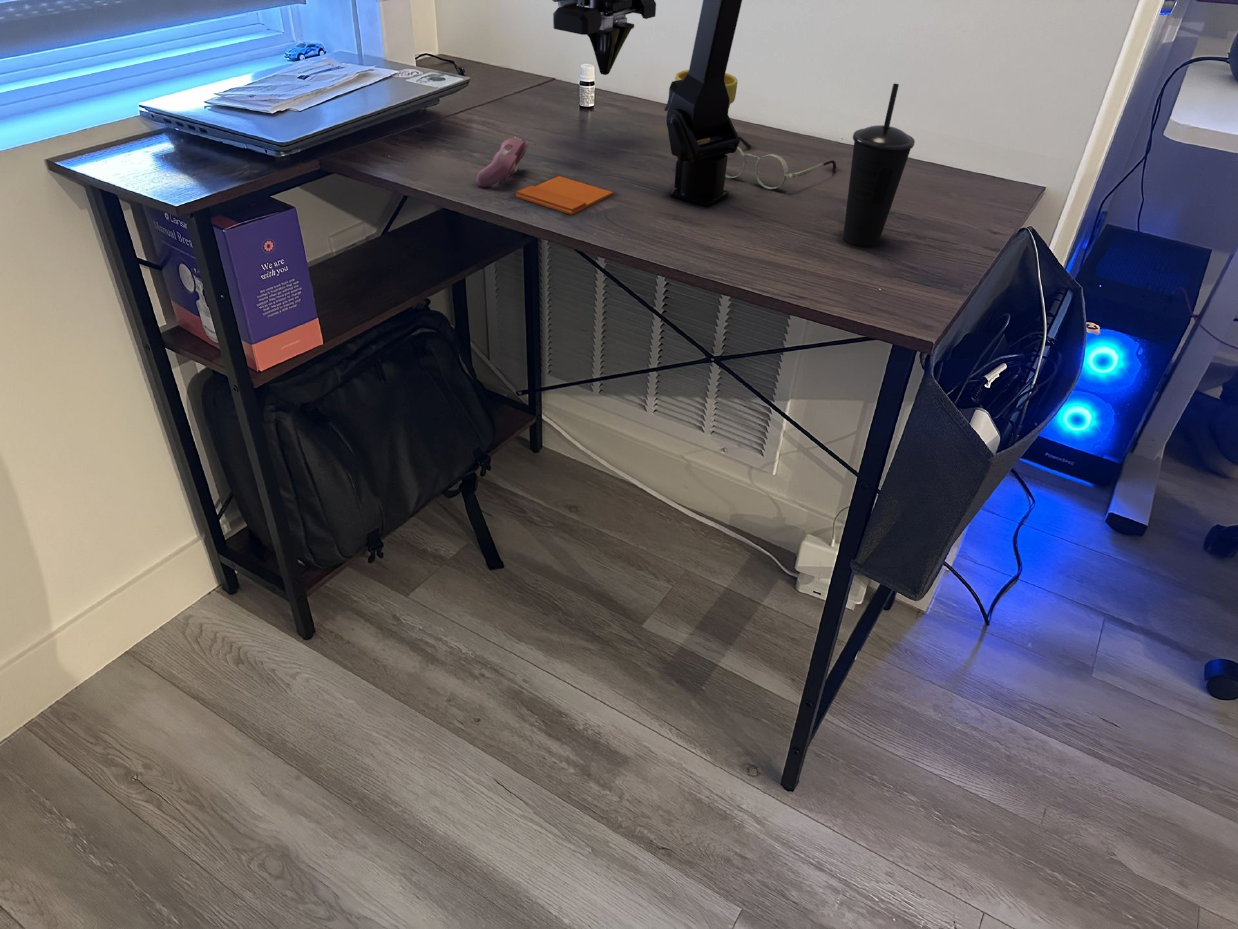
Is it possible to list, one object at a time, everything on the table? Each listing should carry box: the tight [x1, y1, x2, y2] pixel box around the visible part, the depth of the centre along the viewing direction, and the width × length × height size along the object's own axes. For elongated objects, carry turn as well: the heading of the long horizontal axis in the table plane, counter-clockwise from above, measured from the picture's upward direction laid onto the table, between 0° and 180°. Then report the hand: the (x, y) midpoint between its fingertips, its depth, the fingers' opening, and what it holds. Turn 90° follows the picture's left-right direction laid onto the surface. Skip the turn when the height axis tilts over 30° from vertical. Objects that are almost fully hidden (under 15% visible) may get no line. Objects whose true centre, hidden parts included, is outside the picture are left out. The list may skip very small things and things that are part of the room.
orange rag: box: [515, 175, 614, 216], centre depth 127 cm, size 10×10×1 cm
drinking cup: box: [842, 83, 916, 248], centre depth 113 cm, size 8×8×20 cm
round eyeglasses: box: [725, 136, 837, 190], centre depth 137 cm, size 17×15×5 cm
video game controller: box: [476, 135, 529, 188], centre depth 130 cm, size 10×5×7 cm, turn 170°
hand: (604, 74), depth 135 cm, fingers closed
